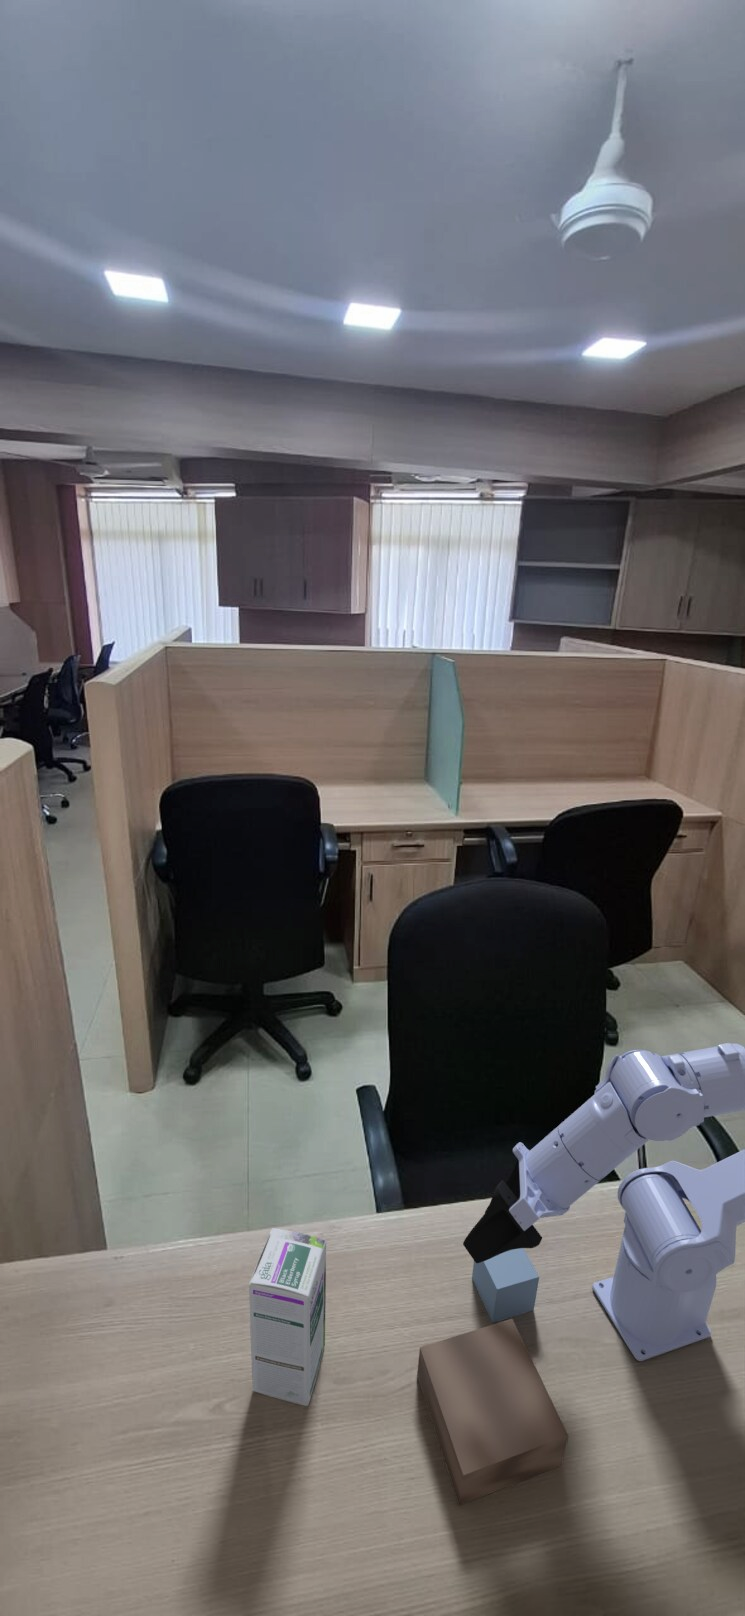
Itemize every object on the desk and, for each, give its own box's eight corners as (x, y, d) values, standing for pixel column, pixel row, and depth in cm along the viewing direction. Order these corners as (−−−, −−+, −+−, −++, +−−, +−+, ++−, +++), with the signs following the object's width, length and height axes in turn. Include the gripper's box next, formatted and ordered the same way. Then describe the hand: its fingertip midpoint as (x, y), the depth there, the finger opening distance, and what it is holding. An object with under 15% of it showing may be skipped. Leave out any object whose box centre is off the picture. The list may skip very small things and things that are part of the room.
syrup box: (309, 1409, 61) (312, 1297, 56) (249, 1392, 62) (248, 1282, 57) (325, 1344, 66) (329, 1238, 62) (270, 1330, 67) (270, 1224, 63)
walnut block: (507, 1346, 67) (512, 1318, 66) (561, 1464, 58) (568, 1435, 57) (417, 1375, 64) (419, 1347, 63) (459, 1505, 55) (463, 1475, 54)
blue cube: (511, 1267, 75) (516, 1234, 73) (533, 1310, 70) (539, 1276, 69) (471, 1278, 74) (475, 1245, 72) (492, 1323, 69) (497, 1289, 67)
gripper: (562, 1098, 71) (475, 1174, 74) (534, 1137, 58) (431, 1227, 61) (611, 1156, 68) (519, 1233, 71) (593, 1210, 55) (482, 1302, 58)
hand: (481, 1235), depth 66 cm, fingers open, 7 cm apart
